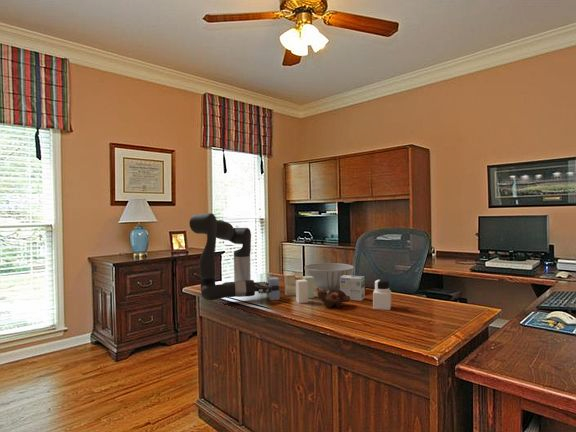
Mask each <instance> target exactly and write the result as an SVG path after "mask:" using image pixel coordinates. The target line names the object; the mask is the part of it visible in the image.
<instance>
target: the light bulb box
mask: <svg viewBox="0 0 576 432" xmlns="http://www.w3.org/2000/svg"><path fill="white" fill-rule="evenodd" d="M365 289H366V287H365V276H362V275H352V276H349V275H343V276H341V277H340V290H341V291H343V292H344V293H345V294H346V295H347V296H350V301H357V302H358V301H359V302H361V301H363V300H364V299H365V298H366V292H365Z"/></svg>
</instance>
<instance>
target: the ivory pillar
mask: <svg viewBox="0 0 576 432" xmlns="http://www.w3.org/2000/svg"><path fill="white" fill-rule="evenodd" d="M295 282H296V295H295V302H297V303H298V304H306V303H309V298H308V281H307V280H305V279H304V280H303V279H295Z"/></svg>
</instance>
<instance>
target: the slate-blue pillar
mask: <svg viewBox="0 0 576 432" xmlns="http://www.w3.org/2000/svg"><path fill="white" fill-rule="evenodd" d="M267 283H268V286H279V287H280V278H279V277H276V276H275V277H268V280H267ZM268 290H269V288H268ZM268 299H269V300H270V301H277V300H280V289H279V290H278V291H271V293H268Z"/></svg>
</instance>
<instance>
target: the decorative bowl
mask: <svg viewBox="0 0 576 432" xmlns="http://www.w3.org/2000/svg"><path fill="white" fill-rule="evenodd" d="M354 270H355V266H354V265H352V264H348V263H337V262H336V263H335V262H320V263H318V262H317V263H310V264H307V265H305V266H304V271H305V273H306V276H312V277H314V286H315V287H317V289H318V291H319V290H325V291H327V290H329V289H338V290H340V277H341V276H343V275H349V276H353V274H354Z"/></svg>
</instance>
